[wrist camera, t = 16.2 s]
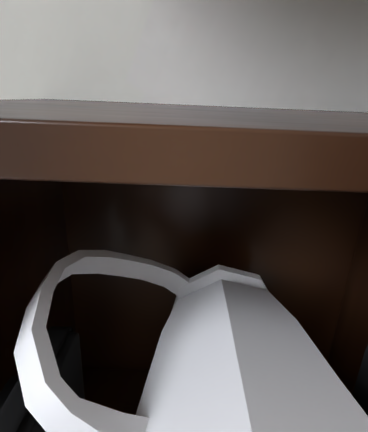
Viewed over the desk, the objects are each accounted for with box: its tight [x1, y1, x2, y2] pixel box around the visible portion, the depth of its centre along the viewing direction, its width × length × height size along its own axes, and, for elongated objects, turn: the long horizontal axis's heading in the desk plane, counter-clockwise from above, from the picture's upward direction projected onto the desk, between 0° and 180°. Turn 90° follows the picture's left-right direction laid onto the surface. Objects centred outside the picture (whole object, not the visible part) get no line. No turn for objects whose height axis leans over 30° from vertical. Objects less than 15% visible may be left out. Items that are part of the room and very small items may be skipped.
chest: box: [0, 99, 368, 415], centre depth 11 cm, size 15×14×10 cm
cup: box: [14, 250, 368, 432], centre depth 9 cm, size 7×10×8 cm
